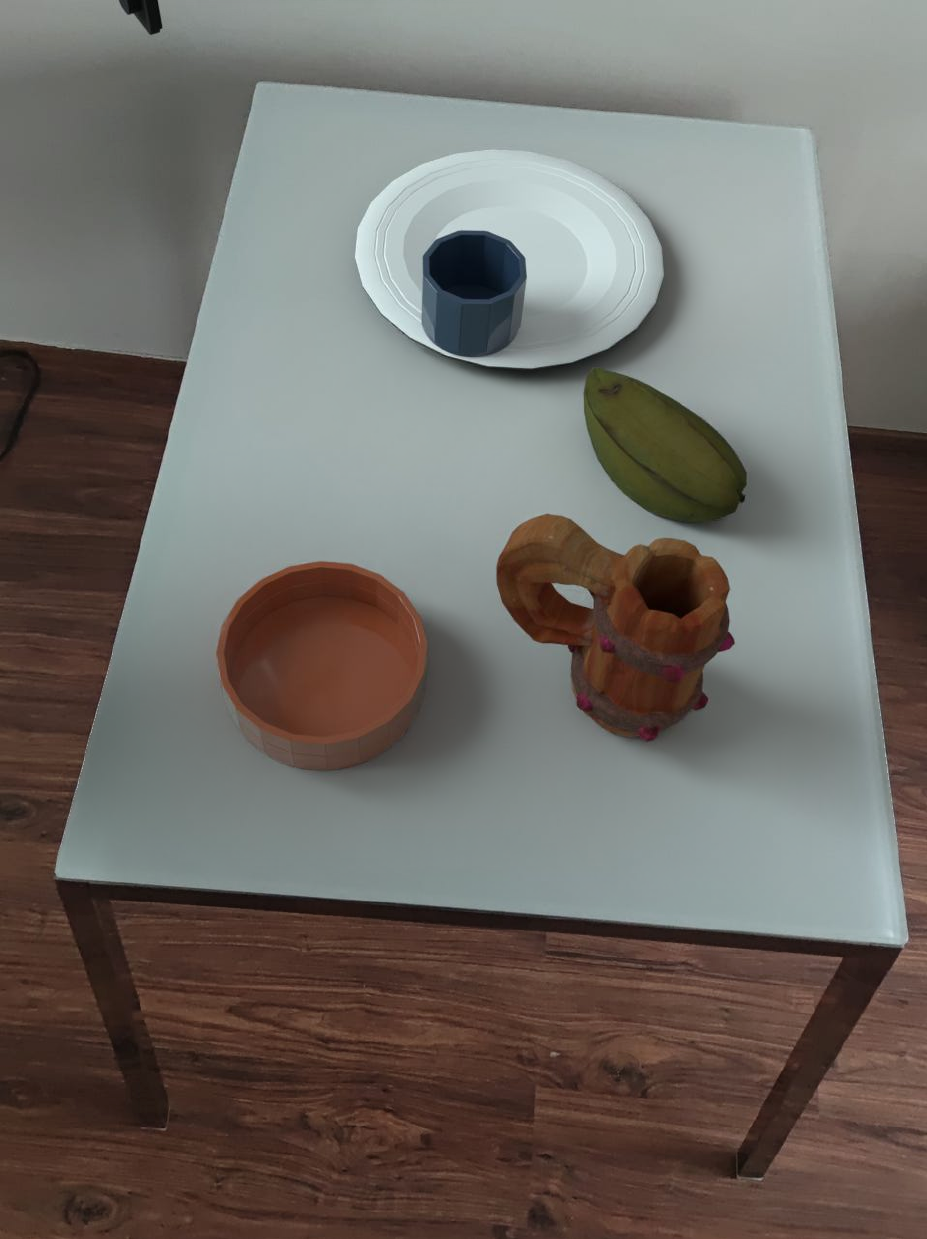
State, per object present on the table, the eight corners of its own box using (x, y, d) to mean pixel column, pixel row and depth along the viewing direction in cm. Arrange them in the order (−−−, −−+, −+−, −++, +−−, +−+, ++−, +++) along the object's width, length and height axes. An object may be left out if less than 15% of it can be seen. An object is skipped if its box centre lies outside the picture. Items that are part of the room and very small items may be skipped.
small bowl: (454, 371, 91) (457, 317, 86) (402, 306, 94) (403, 251, 89) (538, 334, 93) (546, 280, 89) (485, 272, 96) (490, 217, 92)
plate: (325, 356, 94) (324, 338, 92) (387, 146, 106) (387, 128, 105) (647, 406, 93) (652, 389, 91) (670, 189, 106) (675, 171, 104)
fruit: (578, 534, 86) (591, 477, 81) (576, 405, 92) (588, 343, 87) (738, 544, 87) (762, 488, 81) (725, 414, 93) (747, 353, 87)
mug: (716, 676, 81) (777, 549, 68) (675, 778, 77) (731, 663, 64) (515, 592, 84) (537, 455, 71) (465, 687, 80) (479, 559, 67)
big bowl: (282, 806, 75) (277, 780, 71) (190, 647, 80) (182, 615, 77) (462, 710, 79) (465, 681, 75) (363, 564, 84) (362, 531, 81)
